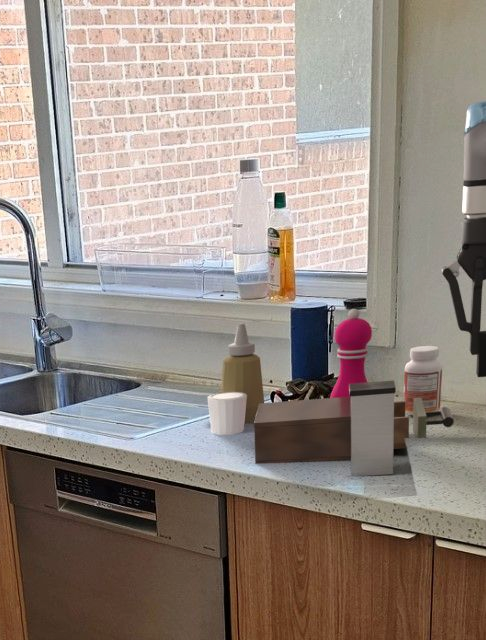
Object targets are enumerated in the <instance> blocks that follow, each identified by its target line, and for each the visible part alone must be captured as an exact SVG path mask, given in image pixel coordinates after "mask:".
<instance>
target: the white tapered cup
mask: <svg viewBox="0 0 486 640" xmlns="http://www.w3.org/2000/svg"><path fill="white" fill-rule="evenodd" d="M246 399H247V395H246V394H245V393H241V392H223V393H220V392H217V393H213V394H210V395H208V396H207V405H208V406H207V407H208V415H209V423H210V432H211V434H212V435H218V436H231V435H237V434H241V433H243V432H245V424H244V422H245V411H246Z"/></svg>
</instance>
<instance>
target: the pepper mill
mask: <svg viewBox="0 0 486 640" xmlns="http://www.w3.org/2000/svg"><path fill="white" fill-rule="evenodd" d="M347 315H348V318H347V319H344V320H342V321H341V322H340V323H339V324H338V325H337V326H336V328H335V330H334V341H335V343H336V344H337V346H338V347H339V348H337V349H336V352H337V355H336V357H337V358H338V359H339V374H338V378H337V380H336V383H335V384H334V387H333V389H332V391H331V393H330V397H329V398H338V397H351V396H350V395H349V384H354V383H367V382H368V380H367V376H366V373H365V361H366V357H368V356H369V353H368V350H369V347H367V345H368V344H369V342H371V339H372V337H373V330H372V326H371V324H370V323H369V322H368V321H367V320H365V319H363V318H359V317H360V311H359V309H358V308H351V309H350V310H349V312H348V314H347Z"/></svg>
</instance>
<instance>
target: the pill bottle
mask: <svg viewBox="0 0 486 640" xmlns="http://www.w3.org/2000/svg"><path fill="white" fill-rule="evenodd" d="M409 349H410V350H409V359H410V361H408V362H407V363H406V364H405V366H404V372H403V373H404V374H403V375H404V376H403V397H402V401H405V415H409V416H413V401H414V398H422V402H423V405H424V409H425V412H433V411H440V410H441V401H442V400H441V399H442V381H443V380H442V379H443V364H442V362H441V360H439V359H438V357H439V354H440V348H439V346H436V345H422V346H421V345H419V346H415V347H411V348H409Z"/></svg>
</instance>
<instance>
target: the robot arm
mask: <svg viewBox="0 0 486 640" xmlns="http://www.w3.org/2000/svg"><path fill="white" fill-rule="evenodd" d="M465 117H466V118H465V126H464V131H463V138H464V141H463V183H462V184H463V186H462V205H461V206H462V207H461V213H462V214H463V215H464V216H465V217H464V218H463V219H462V220H461V229H460V230H461V232H460V249H459V252H458V253H457V255H456V259H455V260H454V261H453V262H451V263H450V264H449V265H445V266H443V267H441V272H440V273H441V274H442V275H443V277H444V278H445V280H446V282H447V283H448V288H449V292H450V297H451V300H452V301H451V302H452V305H453V309H454V314H455V318H456V324H457V326H458V329H459V330H460V331H461V332H467V333H468V334H469V335H470V336H469V352H470V354H471V356H476V371H475V372H476V376H477V378H486V330H481V326H482V325H481V324H482V323H481V321H482V320H481V319H482V304H483V303H482V302H483V299H482V298H483V287H484V281H486V100H484V101H483V100H482V101H477V102H474V103H472V104H471V105H469V106H468V108H467V110H466V115H465ZM460 268H462V270H463V271H464V273H465V274H466V275H467V276H468V278H469V279H470V280H471V300H470V301H471V302H470V303H471V305H470V321H468V320H467V316H466V312H465V308H464V307H465V306H464V302H463V300H462V293H461V289H460V285H459V282H458V279H457V278H458V277H459V275H460Z"/></svg>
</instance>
